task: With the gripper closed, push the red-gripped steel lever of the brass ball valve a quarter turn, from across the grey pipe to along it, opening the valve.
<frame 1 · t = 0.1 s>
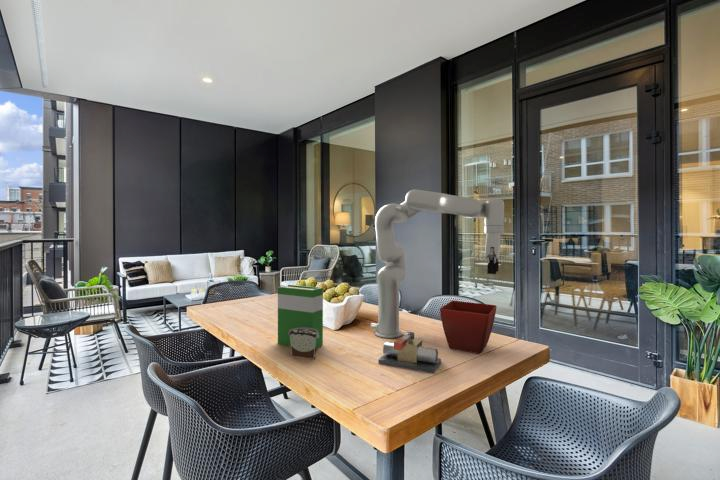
hand: (493, 272, 145), 31 cm above the table, tool pointing down, fingers open, 9 cm apart
green cereal box: (300, 344, 151), on the table
valve body: (409, 363, 130), on the table
plant pot: (468, 347, 148), on the table
valve lever: (404, 340, 124), point 10 cm above the table, hinge at -90.0°
food container: (306, 355, 138), on the table
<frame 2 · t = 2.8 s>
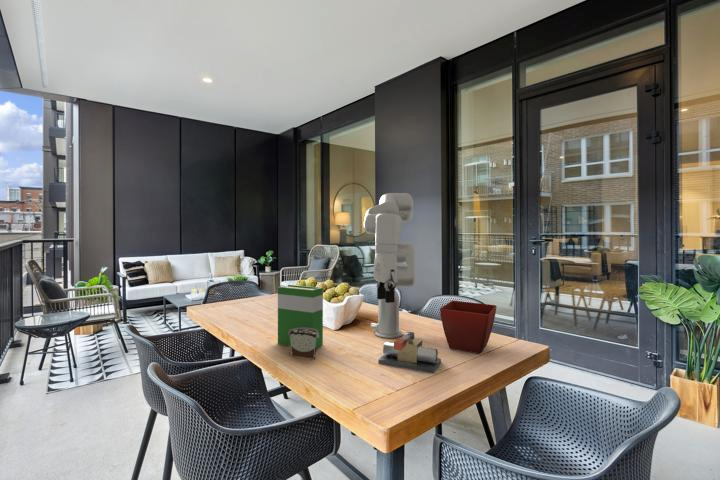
hand: (385, 300, 126), 24 cm above the table, tool pointing down, fingers open, 5 cm apart
nothing on the table moved.
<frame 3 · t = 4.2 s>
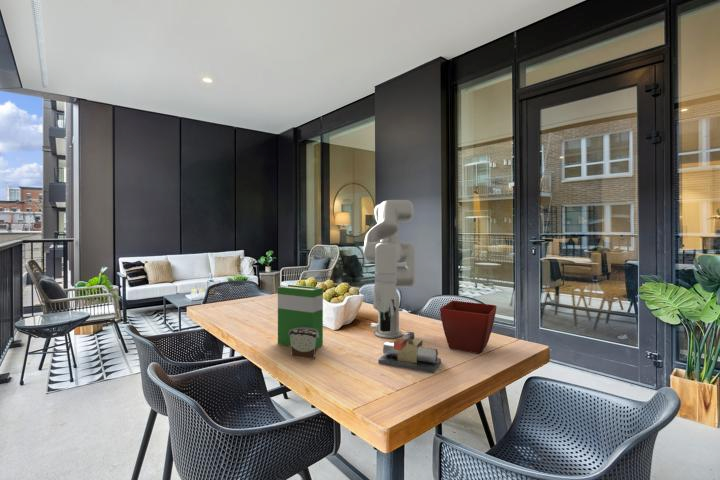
hand: (385, 330, 125), 13 cm above the table, tool pointing down, fingers closed
nothing on the table moved.
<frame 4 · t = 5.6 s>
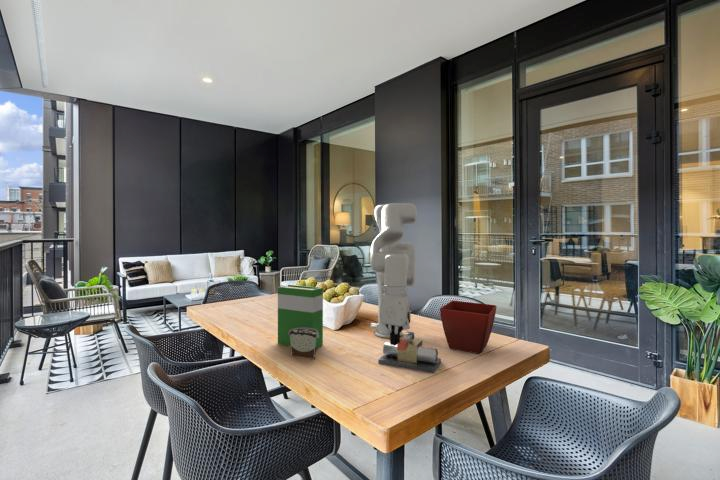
hand: (394, 344, 122), 9 cm above the table, tool pointing down, fingers closed
valve lever: (406, 340, 124), point 10 cm above the table, hinge at -84.7°, touching gripper
everything else where it was.
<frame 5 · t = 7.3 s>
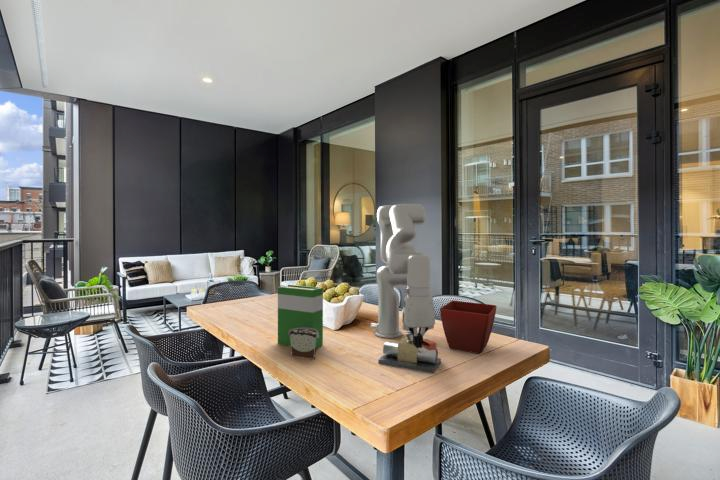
hand: (417, 346, 120), 9 cm above the table, tool pointing down, fingers closed
valve lever: (419, 340, 124), point 10 cm above the table, hinge at -38.8°, touching gripper
everything else where it was.
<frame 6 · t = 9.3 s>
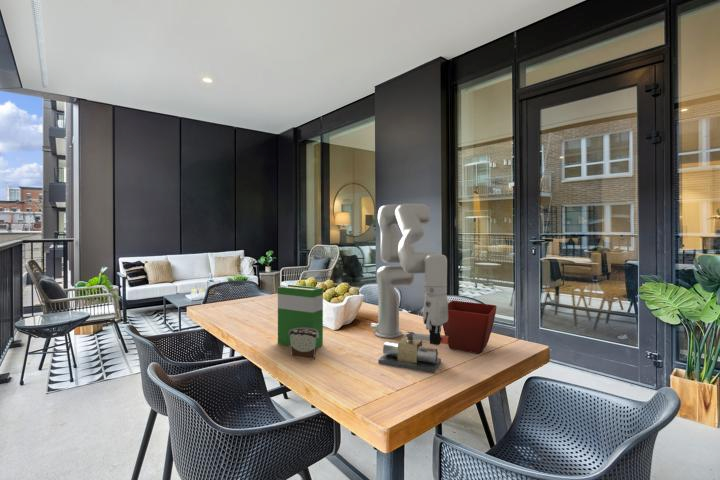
hand: (434, 343, 123), 9 cm above the table, tool pointing down, fingers closed
valve lever: (426, 337, 128), point 10 cm above the table, hinge at 3.5°
everything else where it was.
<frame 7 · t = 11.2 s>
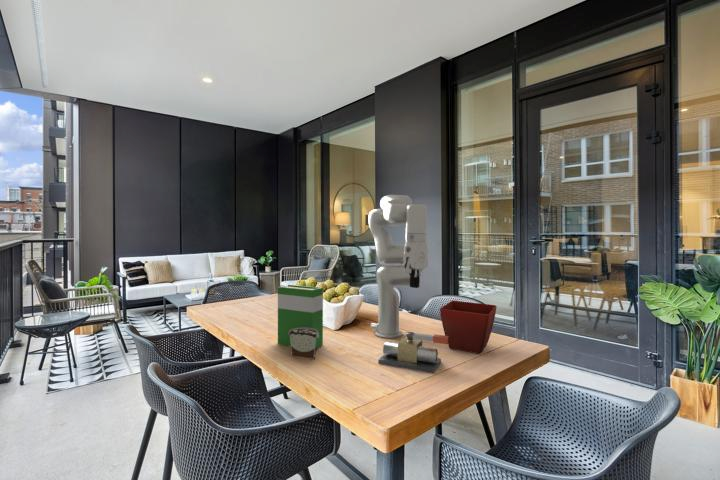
hand: (414, 287, 134), 27 cm above the table, tool pointing down, fingers closed
nothing on the table moved.
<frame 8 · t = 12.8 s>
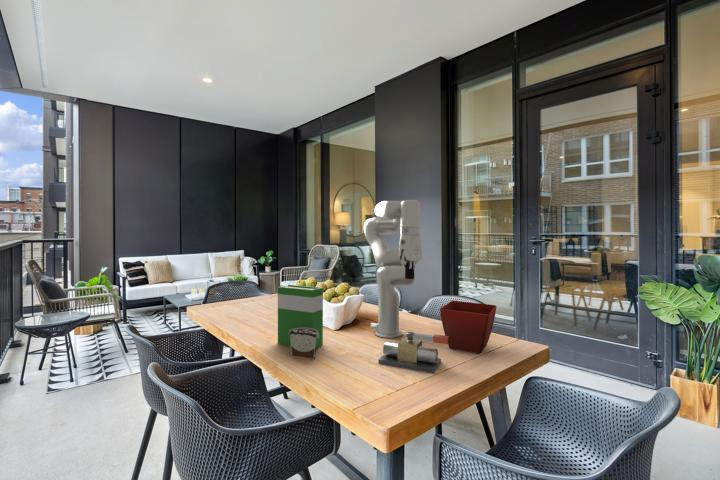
hand: (409, 278, 141), 29 cm above the table, tool pointing down, fingers closed
nothing on the table moved.
at the end: valve lever at +4° (first picture: -90°) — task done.
